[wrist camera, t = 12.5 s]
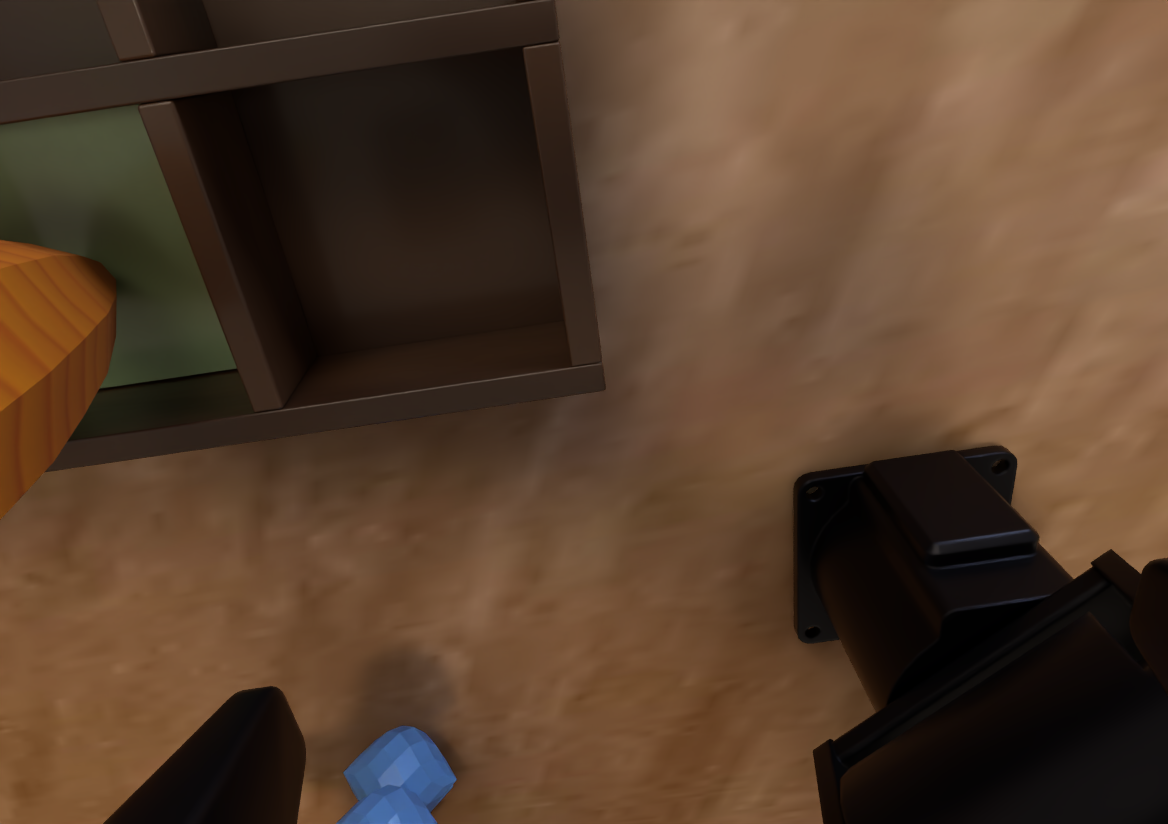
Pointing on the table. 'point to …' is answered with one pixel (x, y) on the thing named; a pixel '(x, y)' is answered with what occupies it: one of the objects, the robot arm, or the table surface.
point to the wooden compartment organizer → (302, 209)
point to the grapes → (398, 779)
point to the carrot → (48, 355)
